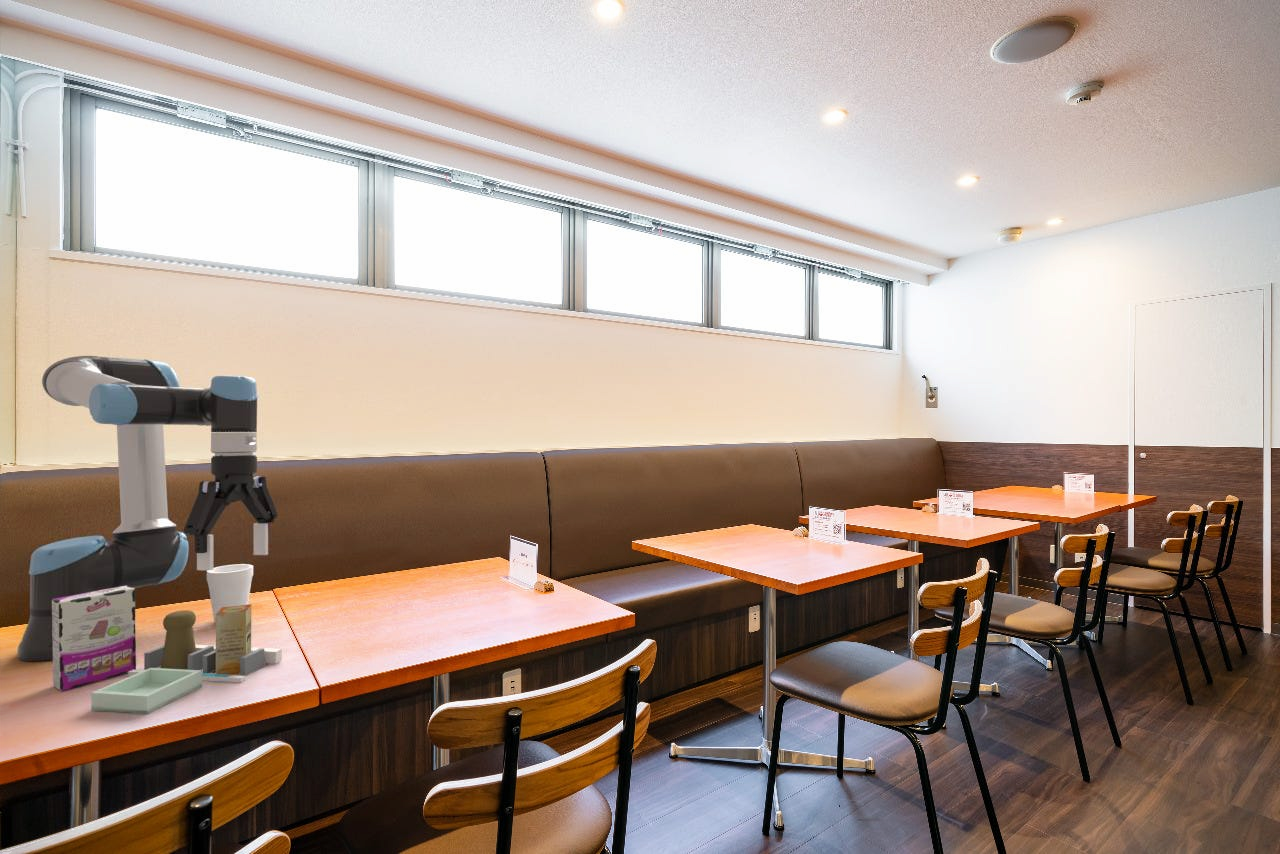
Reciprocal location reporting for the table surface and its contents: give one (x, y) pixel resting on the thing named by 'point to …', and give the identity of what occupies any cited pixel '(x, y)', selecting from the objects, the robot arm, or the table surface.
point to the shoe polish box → (232, 638)
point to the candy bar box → (93, 637)
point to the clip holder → (207, 661)
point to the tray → (146, 690)
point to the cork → (178, 639)
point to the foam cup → (229, 586)
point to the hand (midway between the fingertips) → (234, 562)
